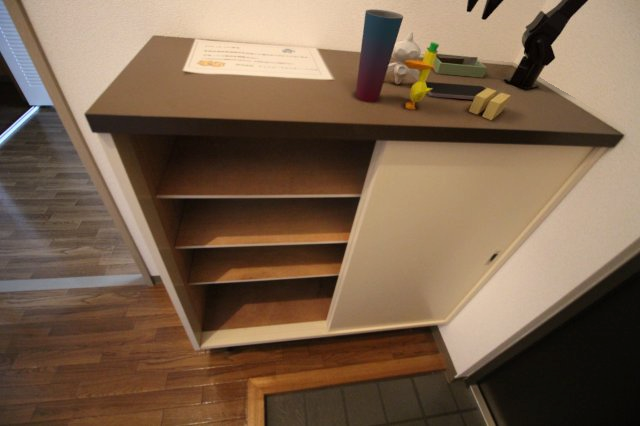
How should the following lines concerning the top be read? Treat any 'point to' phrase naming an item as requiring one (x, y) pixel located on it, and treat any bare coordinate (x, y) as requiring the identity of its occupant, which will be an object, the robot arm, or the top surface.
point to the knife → (458, 60)
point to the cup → (376, 51)
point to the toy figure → (421, 74)
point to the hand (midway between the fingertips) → (475, 15)
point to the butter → (489, 103)
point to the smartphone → (454, 90)
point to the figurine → (404, 58)
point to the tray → (459, 68)
